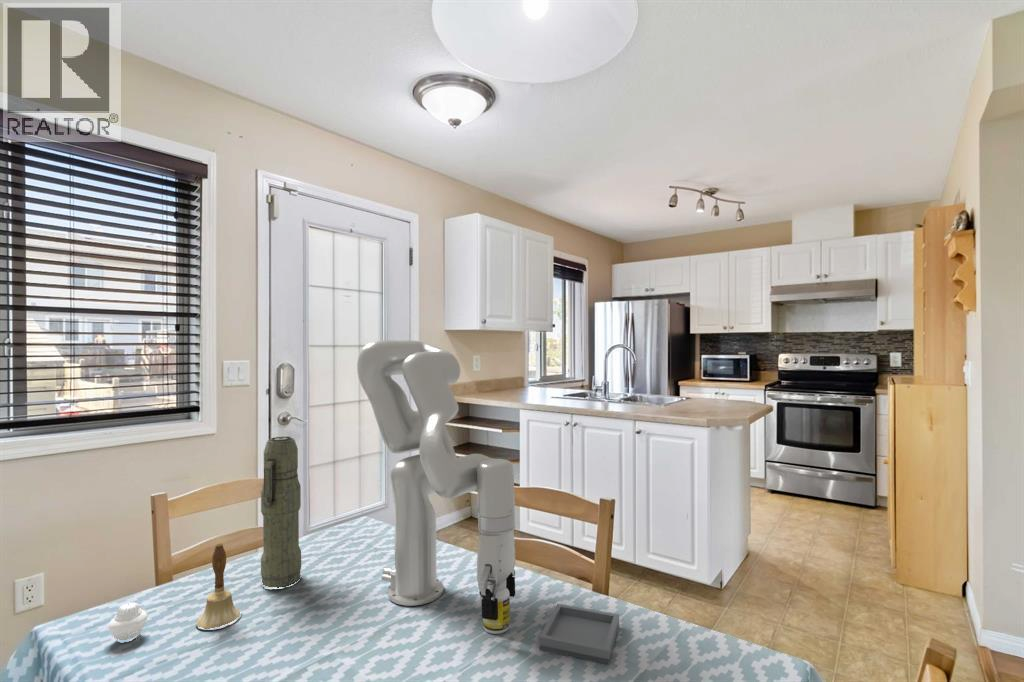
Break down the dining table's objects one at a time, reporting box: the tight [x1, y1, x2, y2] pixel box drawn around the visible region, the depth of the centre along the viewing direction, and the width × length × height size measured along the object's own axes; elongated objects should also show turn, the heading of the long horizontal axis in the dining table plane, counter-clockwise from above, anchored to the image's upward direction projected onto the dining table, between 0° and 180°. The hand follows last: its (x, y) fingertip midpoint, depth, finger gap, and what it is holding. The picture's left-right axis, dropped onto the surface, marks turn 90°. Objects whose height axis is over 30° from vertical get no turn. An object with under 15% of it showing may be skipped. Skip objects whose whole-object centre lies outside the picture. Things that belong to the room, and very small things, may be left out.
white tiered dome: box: [108, 602, 149, 641], centre depth 100 cm, size 6×6×7 cm
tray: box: [538, 603, 620, 666], centre depth 99 cm, size 13×13×2 cm
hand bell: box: [196, 543, 241, 629], centre depth 106 cm, size 8×8×16 cm
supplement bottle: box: [482, 579, 511, 635], centre depth 103 cm, size 5×5×10 cm
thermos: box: [260, 436, 302, 588], centre depth 124 cm, size 9×12×35 cm
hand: (499, 606), depth 102 cm, fingers open, 9 cm apart
